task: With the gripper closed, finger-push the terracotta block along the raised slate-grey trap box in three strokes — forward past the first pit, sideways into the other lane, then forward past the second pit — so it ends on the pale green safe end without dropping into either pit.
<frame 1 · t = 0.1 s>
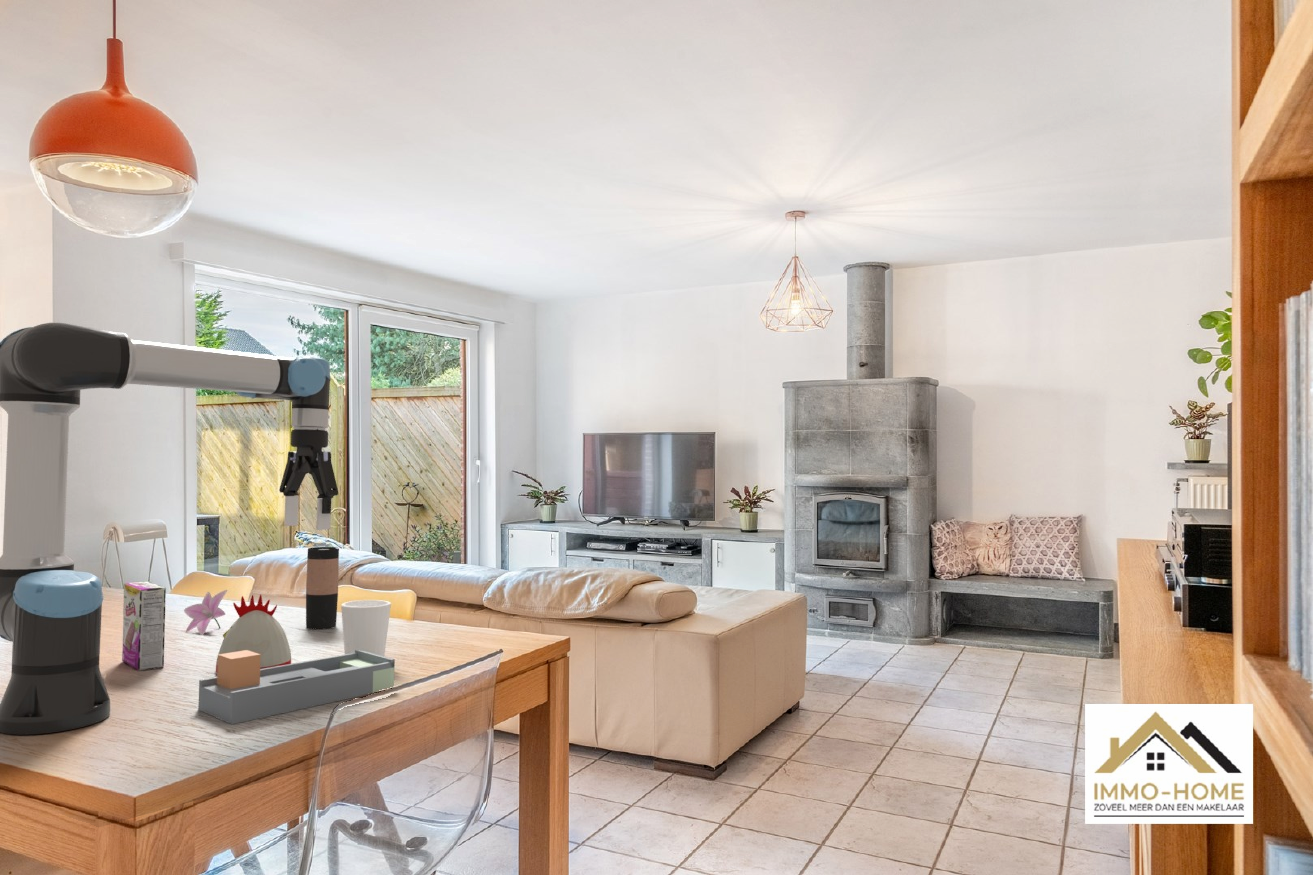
hand: (306, 527, 185), 28 cm above the table, tool pointing down, fingers open, 13 cm apart
travel mug: (321, 627, 219), on the table
candy bar box: (142, 665, 176), on the table
lily: (205, 632, 212), on the table
trap box: (301, 698, 153), on the table
block: (238, 683, 148), point 4 cm above the table, touching trap box
cup: (364, 665, 180), on the table
kitchen timer: (254, 669, 175), on the table
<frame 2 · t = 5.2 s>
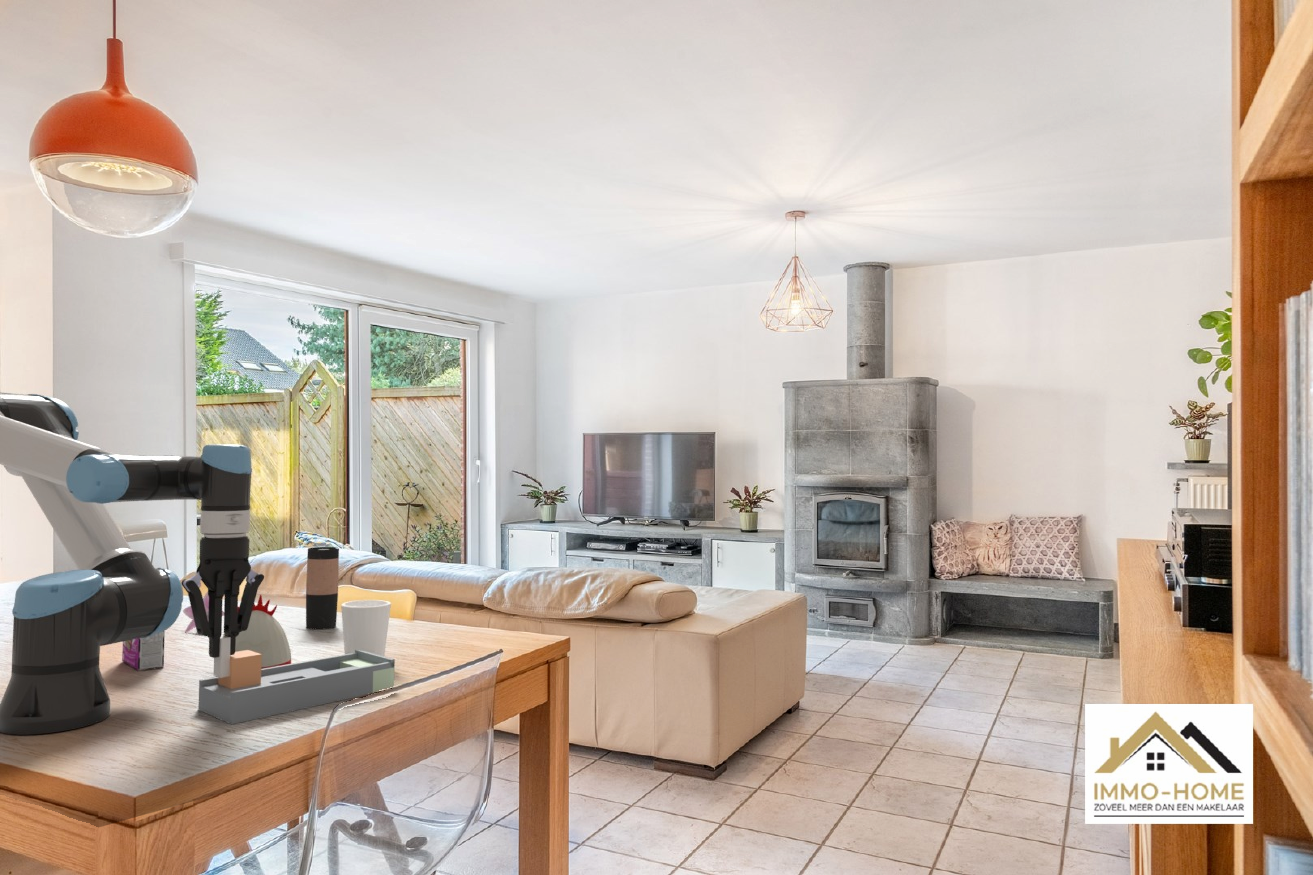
hand: (221, 675, 145), 6 cm above the table, tool pointing down, fingers closed
block: (239, 683, 148), point 4 cm above the table, touching gripper, trap box
everything else where it was.
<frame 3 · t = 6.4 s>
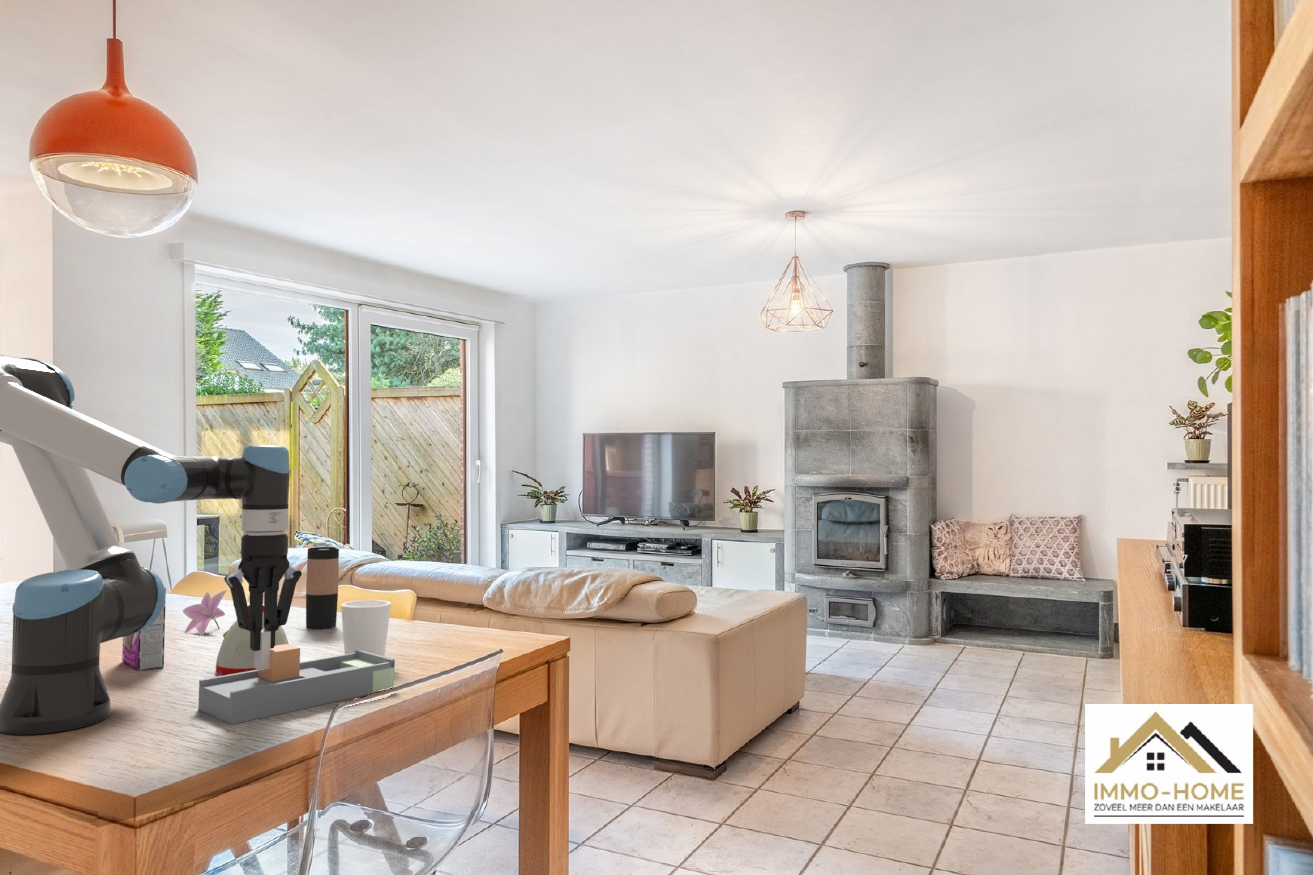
hand: (262, 668, 150), 6 cm above the table, tool pointing down, fingers closed
block: (278, 676, 153), point 4 cm above the table, touching gripper
everything else where it was.
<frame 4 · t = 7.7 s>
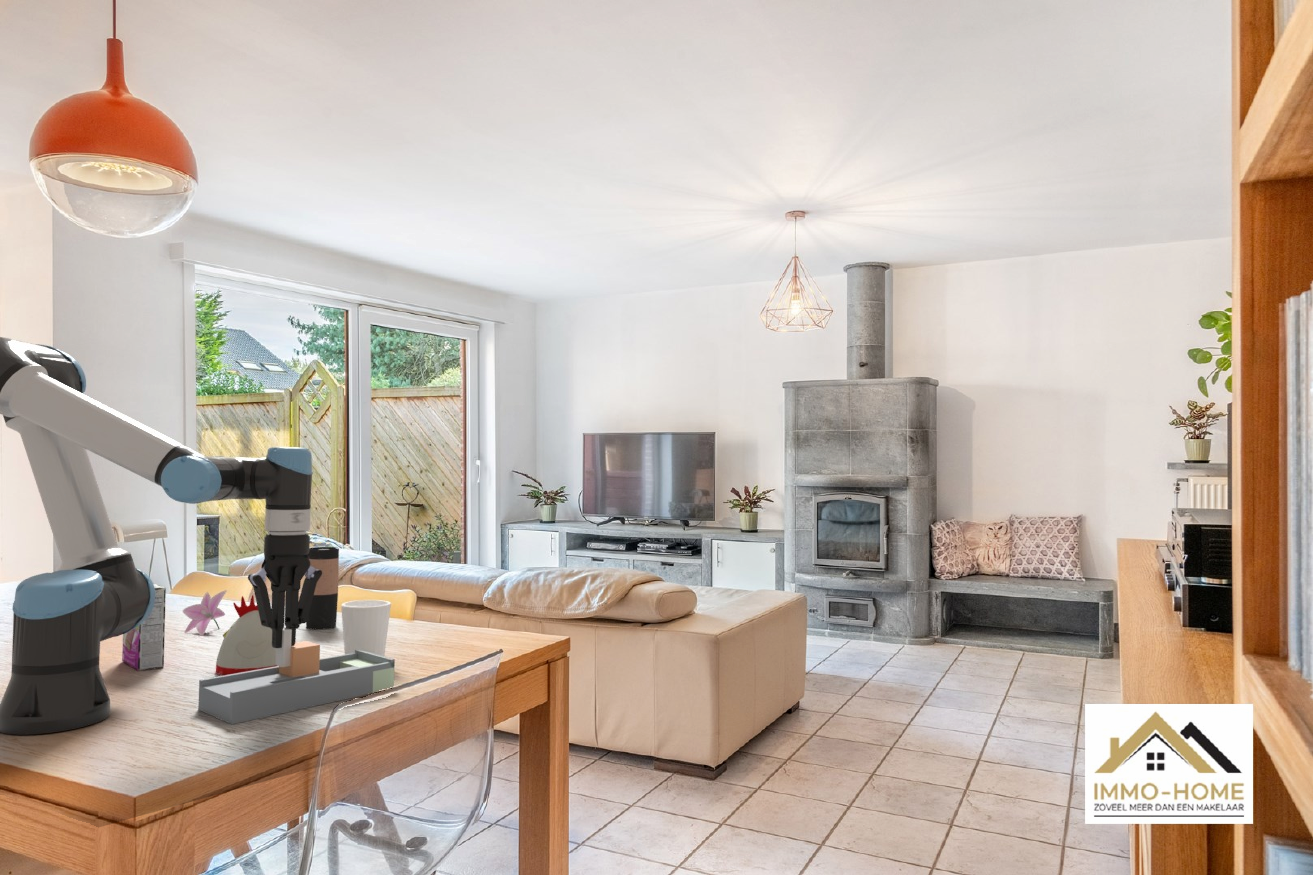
hand: (282, 665, 154), 6 cm above the table, tool pointing down, fingers closed
block: (299, 672, 156), point 4 cm above the table, touching gripper, trap box
everything else where it was.
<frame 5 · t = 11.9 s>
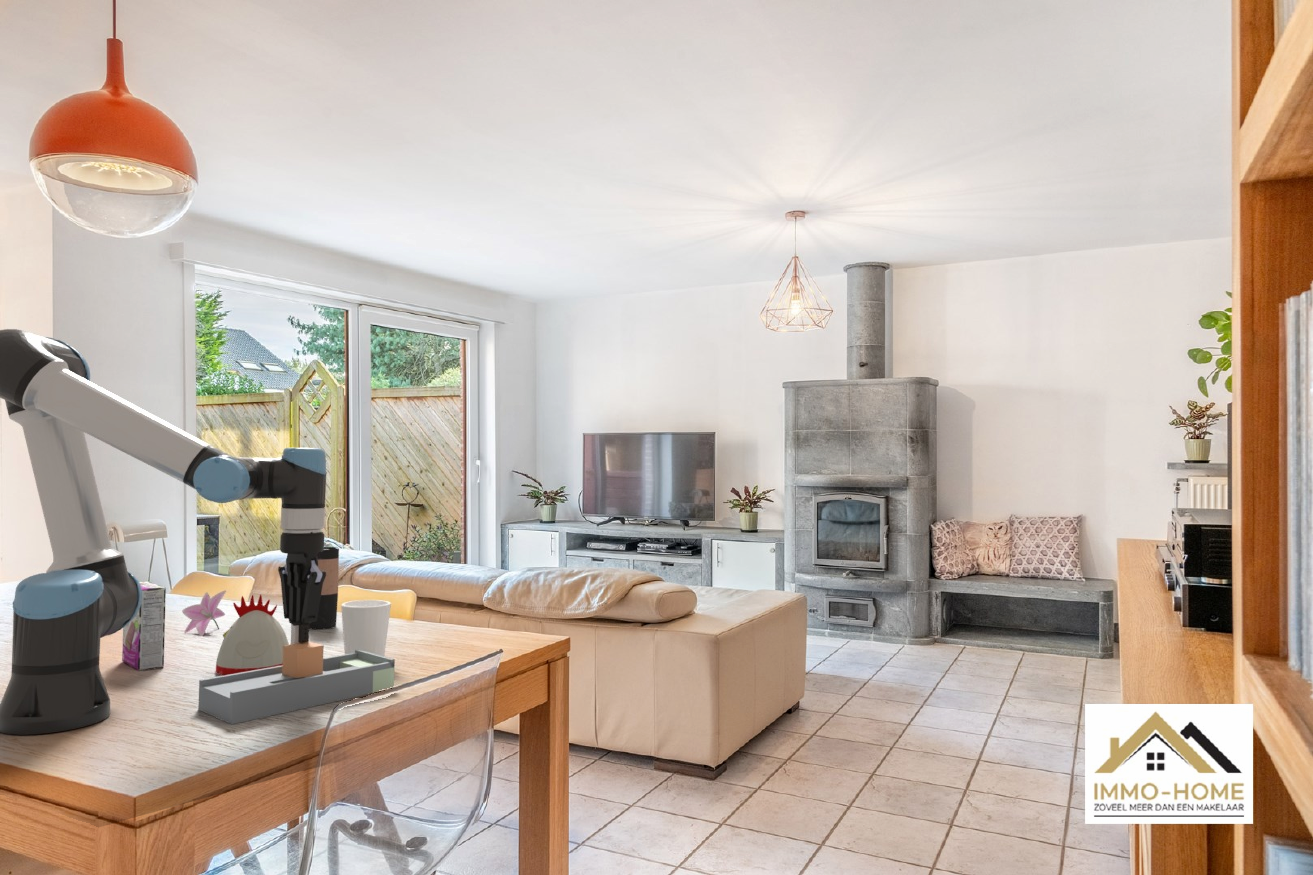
hand: (299, 659, 158), 6 cm above the table, tool pointing down, fingers closed
block: (302, 673, 155), point 4 cm above the table, touching gripper
everything else where it was.
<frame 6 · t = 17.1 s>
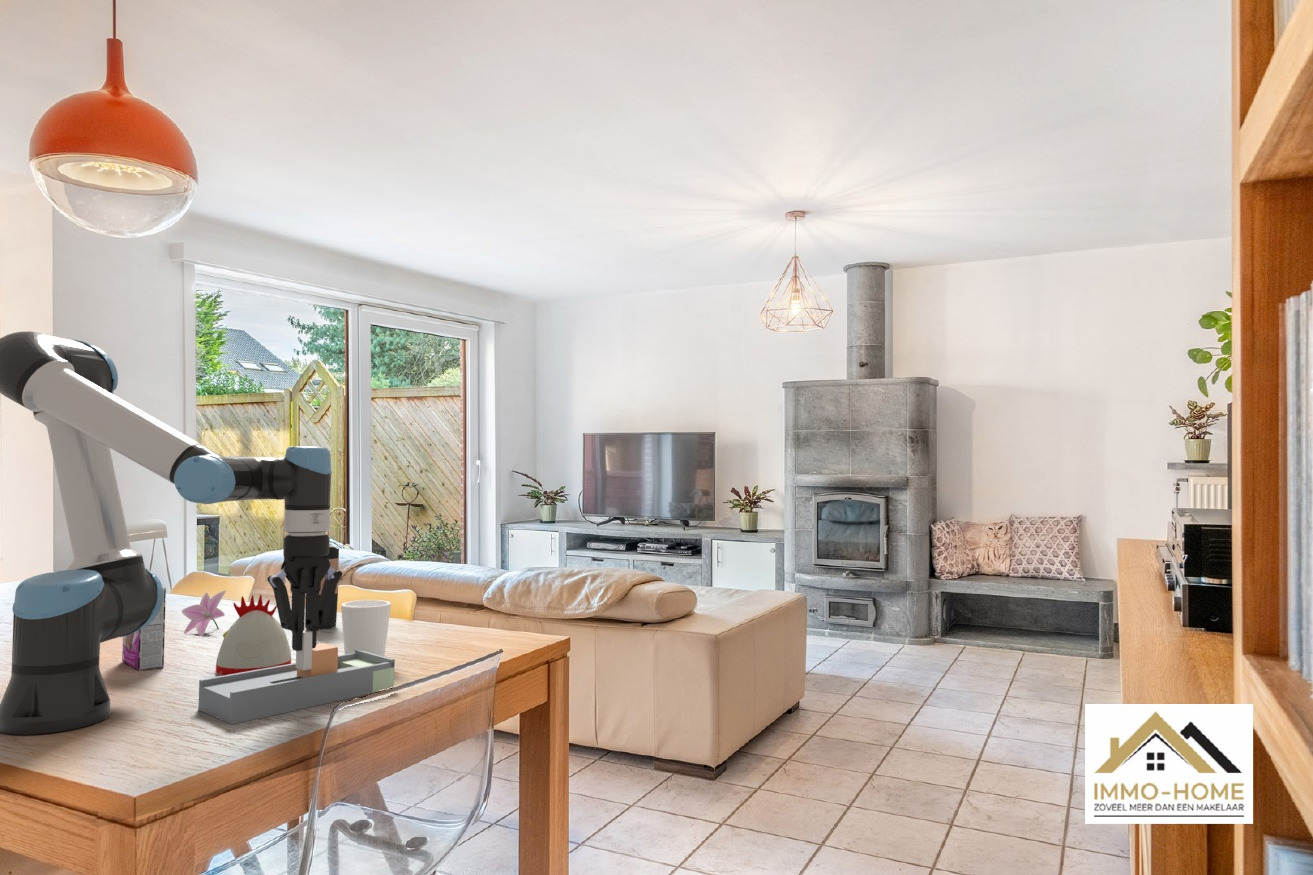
hand: (303, 668, 151), 6 cm above the table, tool pointing down, fingers closed
block: (317, 675, 154), point 4 cm above the table, touching gripper
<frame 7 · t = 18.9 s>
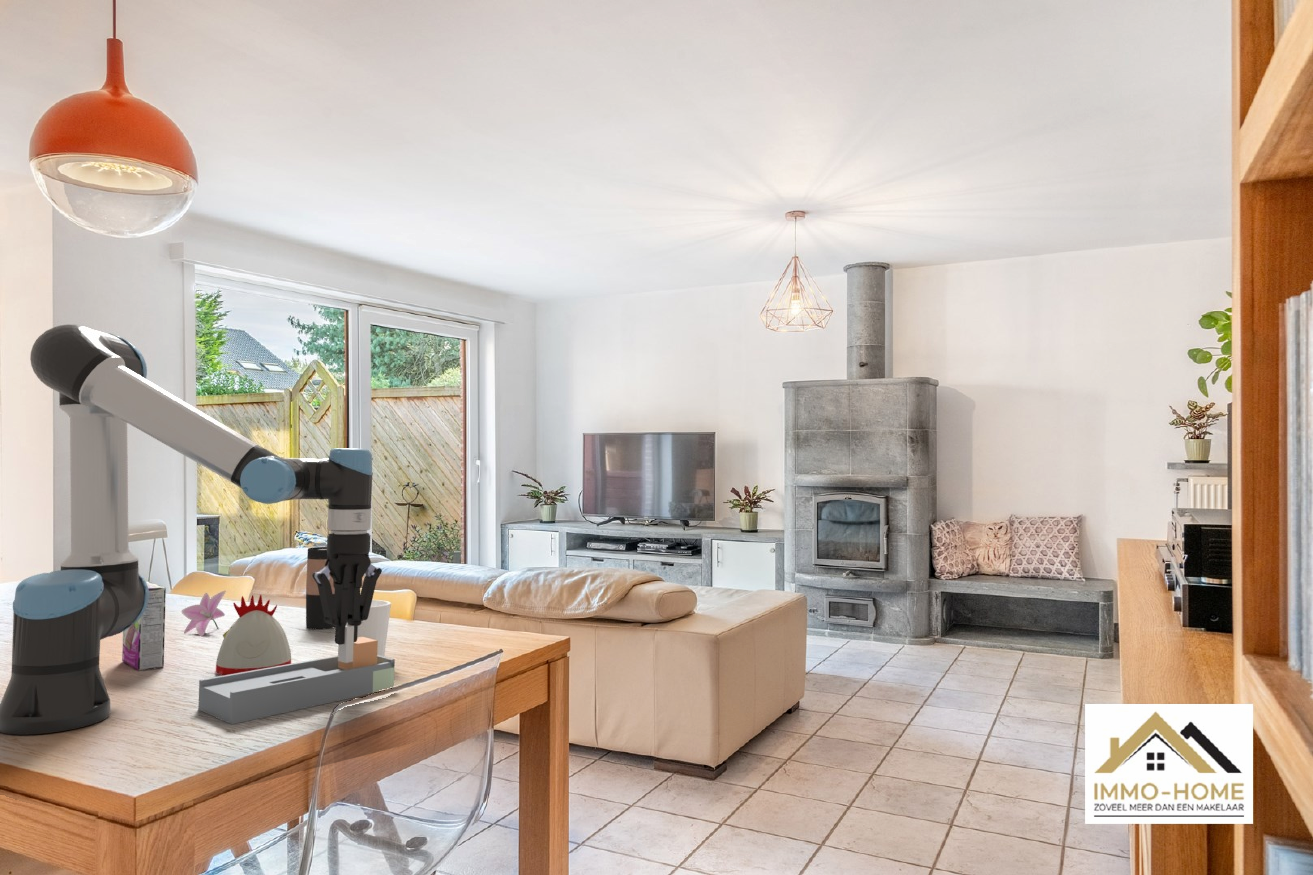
hand: (345, 661, 157), 6 cm above the table, tool pointing down, fingers closed
block: (357, 667, 161), point 4 cm above the table, touching gripper, trap box
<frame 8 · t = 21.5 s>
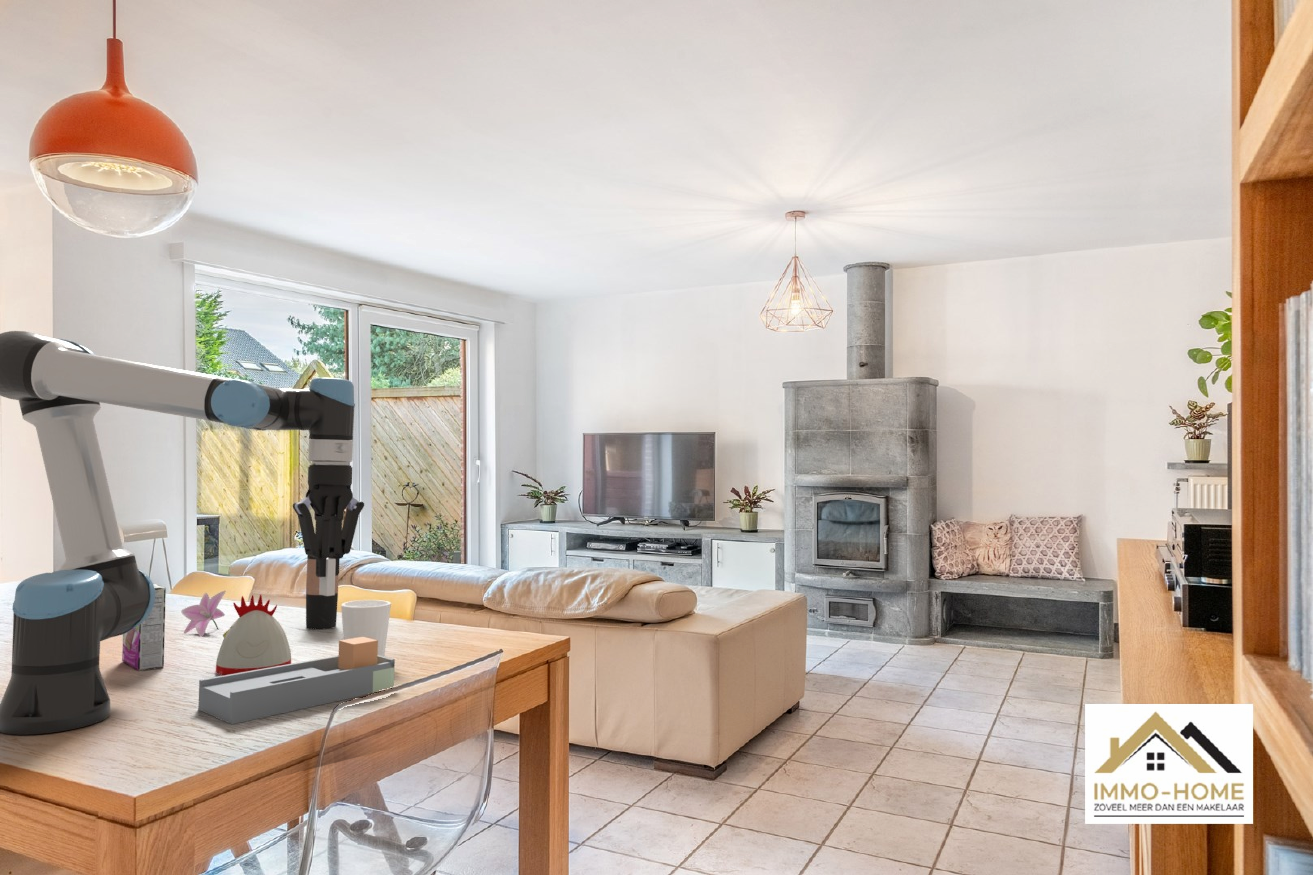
hand: (326, 594, 155), 18 cm above the table, tool pointing down, fingers closed
block: (357, 667, 161), point 4 cm above the table, touching trap box
at the end: block inside the target area on the trap box (1.5 cm from its centre), point 4.0 cm above the trap box's base; block tilted 0° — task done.
